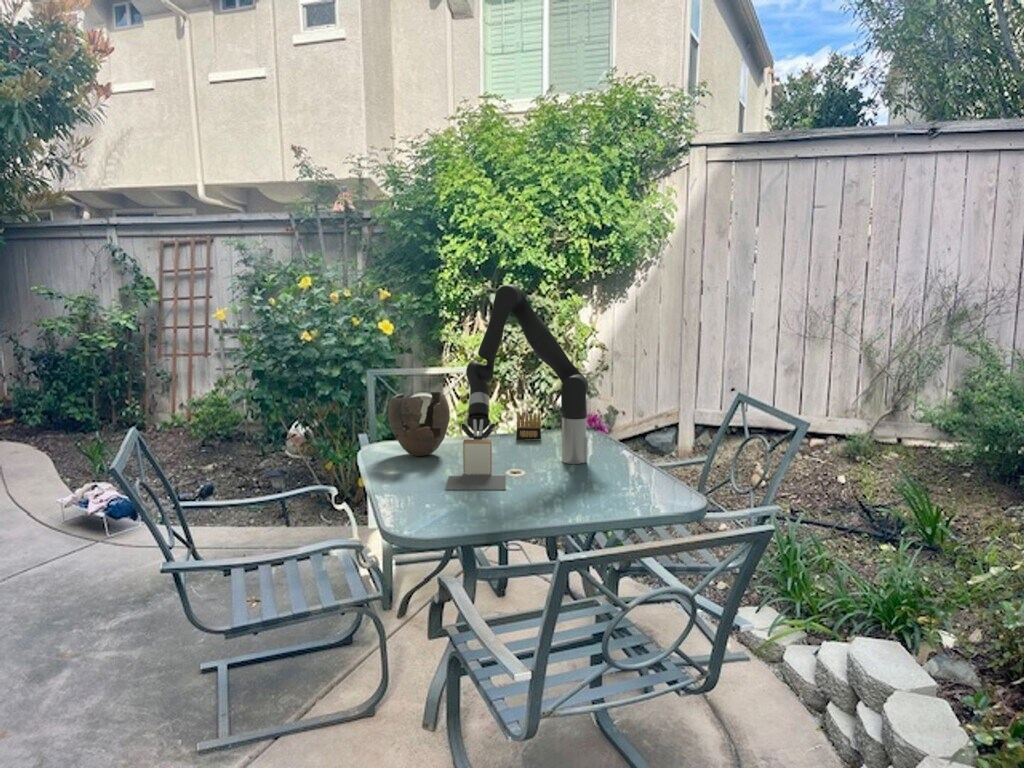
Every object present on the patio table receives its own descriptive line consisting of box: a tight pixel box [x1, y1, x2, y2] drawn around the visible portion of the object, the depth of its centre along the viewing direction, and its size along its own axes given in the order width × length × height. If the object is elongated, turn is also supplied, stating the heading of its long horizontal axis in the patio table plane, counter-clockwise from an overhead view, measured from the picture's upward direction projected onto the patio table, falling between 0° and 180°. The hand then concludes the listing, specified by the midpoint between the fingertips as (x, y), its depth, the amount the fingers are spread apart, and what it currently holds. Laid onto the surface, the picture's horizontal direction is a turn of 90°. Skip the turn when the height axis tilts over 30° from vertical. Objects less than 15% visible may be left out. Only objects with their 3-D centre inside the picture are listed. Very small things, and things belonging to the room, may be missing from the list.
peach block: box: [462, 438, 493, 476], centre depth 252 cm, size 10×4×12 cm, turn 91°
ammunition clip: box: [515, 411, 542, 441], centre depth 304 cm, size 11×2×12 cm, turn 87°
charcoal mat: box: [444, 475, 507, 491], centre depth 242 cm, size 20×16×1 cm
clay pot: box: [387, 391, 451, 457], centre depth 277 cm, size 24×24×25 cm
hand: (477, 447), depth 254 cm, fingers closed
